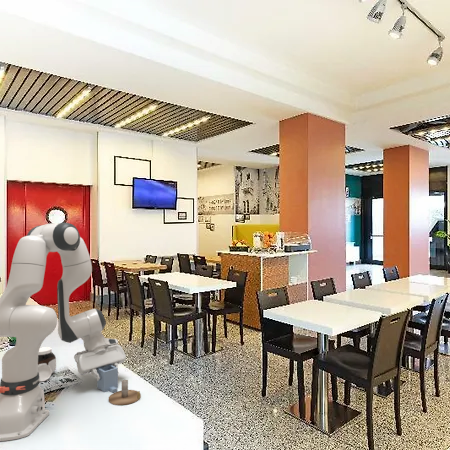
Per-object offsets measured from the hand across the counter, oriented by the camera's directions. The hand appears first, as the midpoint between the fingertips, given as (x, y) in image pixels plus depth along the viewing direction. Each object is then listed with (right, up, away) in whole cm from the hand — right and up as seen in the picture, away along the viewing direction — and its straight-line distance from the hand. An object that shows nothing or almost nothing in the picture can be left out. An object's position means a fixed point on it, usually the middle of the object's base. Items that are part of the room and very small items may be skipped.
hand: (108, 376), depth 157 cm
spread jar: (-32, -5, +12) cm, 35 cm away
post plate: (+9, -5, -9) cm, 14 cm away
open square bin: (+1, -5, -1) cm, 5 cm away
